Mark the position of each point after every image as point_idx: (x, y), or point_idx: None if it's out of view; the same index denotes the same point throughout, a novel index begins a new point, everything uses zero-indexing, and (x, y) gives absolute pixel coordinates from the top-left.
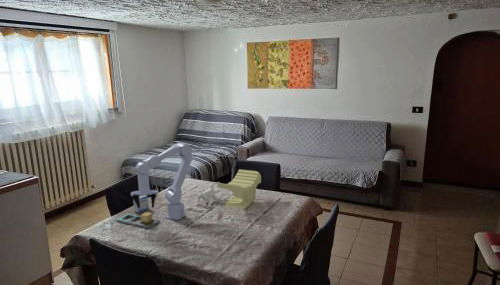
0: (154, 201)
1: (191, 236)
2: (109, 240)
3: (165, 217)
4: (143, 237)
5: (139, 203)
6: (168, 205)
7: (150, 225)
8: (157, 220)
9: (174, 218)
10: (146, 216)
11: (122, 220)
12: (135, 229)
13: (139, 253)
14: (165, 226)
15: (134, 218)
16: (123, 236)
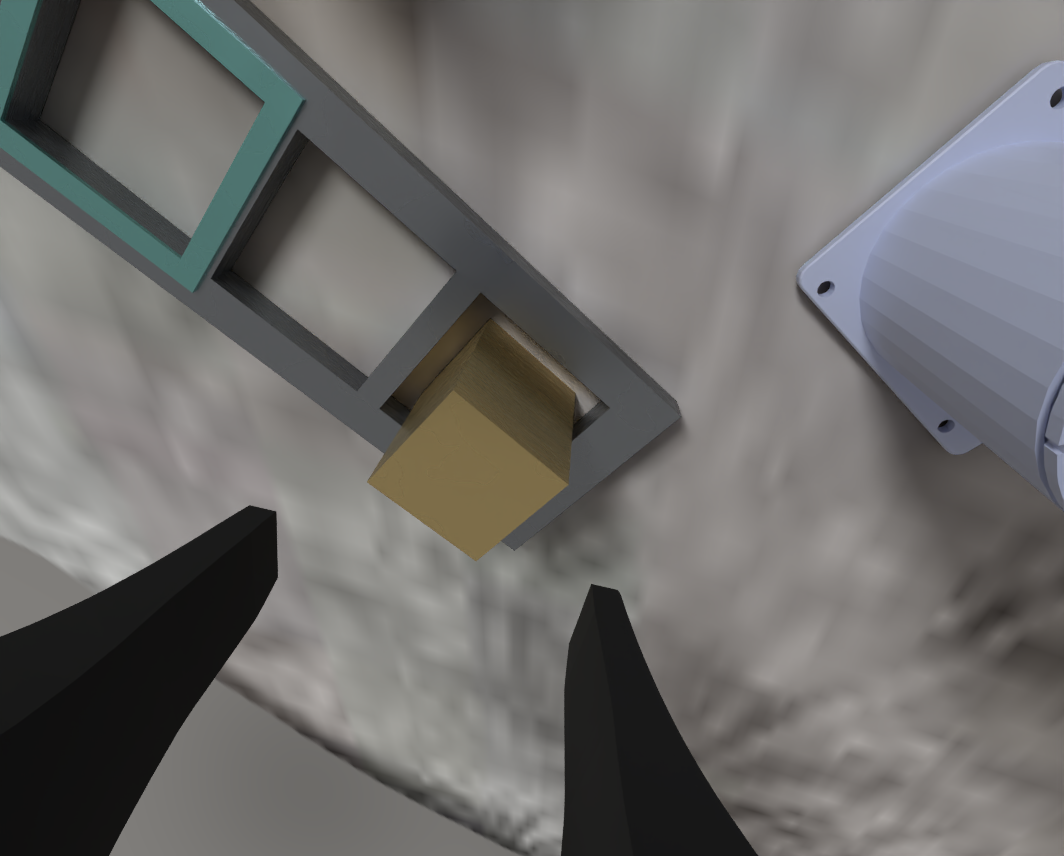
0: (657, 697)
1: (896, 787)
2: None
3: (803, 290)
4: (464, 664)
5: (216, 577)
6: (1013, 448)
7: (534, 527)
8: (645, 415)
9: (926, 402)
10: (468, 549)
11: (70, 203)
12: (355, 488)
13: (451, 820)
14: (720, 544)
15: (258, 190)
16: None
